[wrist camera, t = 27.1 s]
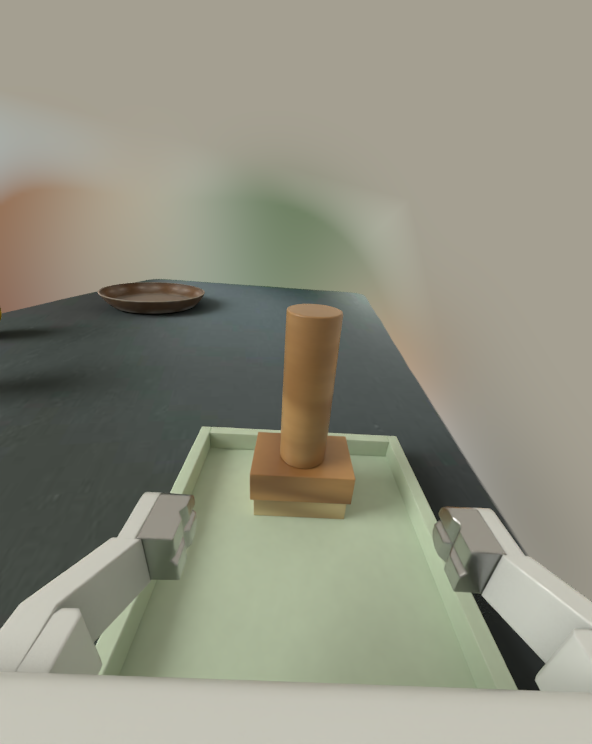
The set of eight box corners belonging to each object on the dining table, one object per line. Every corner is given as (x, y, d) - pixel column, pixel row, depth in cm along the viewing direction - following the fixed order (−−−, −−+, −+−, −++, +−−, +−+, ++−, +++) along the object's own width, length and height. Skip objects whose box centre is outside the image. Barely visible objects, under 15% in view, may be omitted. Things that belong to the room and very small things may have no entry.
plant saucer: (221, 301, 73) (220, 287, 72) (168, 322, 55) (166, 304, 54) (147, 292, 77) (145, 279, 76) (75, 309, 59) (71, 292, 58)
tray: (391, 456, 25) (396, 436, 24) (907, 1693, 4) (1100, 1892, 3) (203, 447, 25) (201, 426, 24) (-361, 1753, 4) (-564, 1993, 3)
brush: (339, 475, 22) (366, 304, 17) (347, 522, 19) (385, 324, 13) (257, 470, 22) (259, 297, 17) (249, 517, 18) (248, 316, 13)
